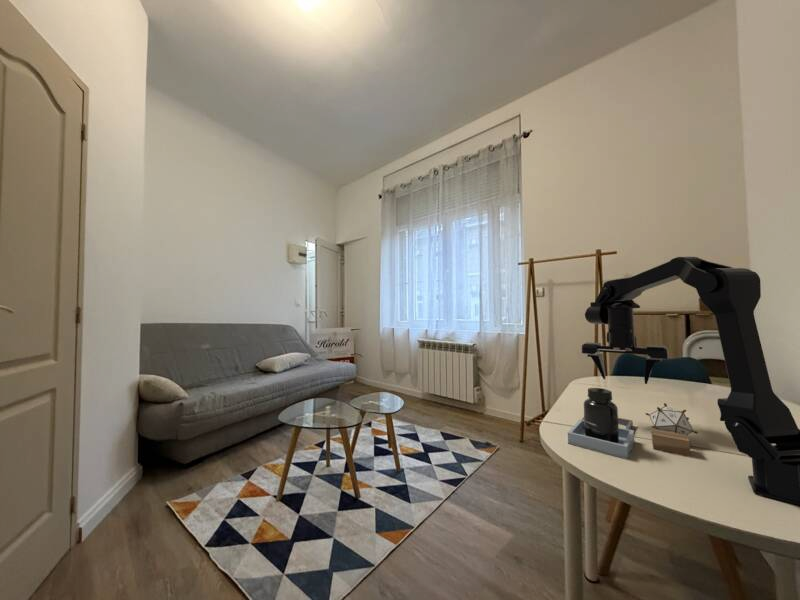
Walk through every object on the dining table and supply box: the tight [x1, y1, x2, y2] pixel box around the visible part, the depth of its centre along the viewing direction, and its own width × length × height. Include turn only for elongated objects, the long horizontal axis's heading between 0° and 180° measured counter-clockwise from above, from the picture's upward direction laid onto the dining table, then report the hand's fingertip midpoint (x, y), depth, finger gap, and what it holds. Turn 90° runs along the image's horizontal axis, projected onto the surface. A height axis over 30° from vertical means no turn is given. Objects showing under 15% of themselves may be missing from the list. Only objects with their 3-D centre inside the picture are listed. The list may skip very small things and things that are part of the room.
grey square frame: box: [580, 416, 634, 430], centre depth 79 cm, size 10×10×2 cm
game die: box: [645, 402, 699, 436], centre depth 71 cm, size 9×8×10 cm
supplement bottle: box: [583, 387, 620, 443], centre depth 70 cm, size 7×7×12 cm
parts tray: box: [567, 419, 636, 460], centre depth 70 cm, size 11×11×3 cm
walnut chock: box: [650, 428, 691, 458], centre depth 65 cm, size 4×6×4 cm, turn 52°
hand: (624, 381), depth 80 cm, fingers open, 9 cm apart
